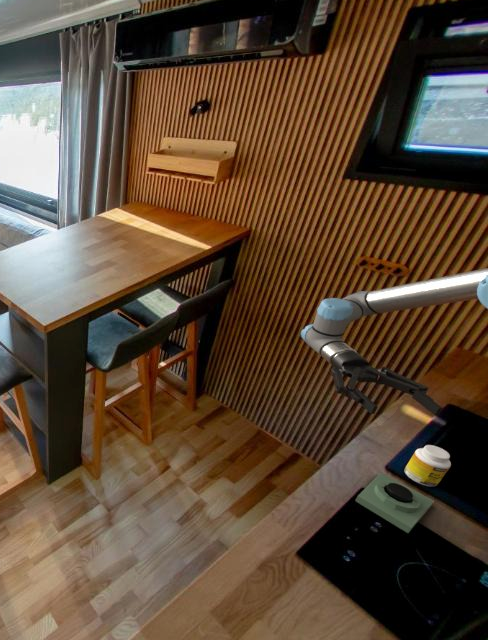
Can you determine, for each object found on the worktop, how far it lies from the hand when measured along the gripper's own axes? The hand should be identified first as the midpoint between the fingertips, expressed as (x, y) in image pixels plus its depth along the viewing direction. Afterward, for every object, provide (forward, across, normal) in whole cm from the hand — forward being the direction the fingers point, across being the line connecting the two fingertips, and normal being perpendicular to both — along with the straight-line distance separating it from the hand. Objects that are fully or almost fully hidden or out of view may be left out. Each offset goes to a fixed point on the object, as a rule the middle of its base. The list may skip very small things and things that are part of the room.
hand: (406, 411), depth 96 cm
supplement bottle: (+10, 0, -14) cm, 17 cm away
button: (+18, +11, -10) cm, 23 cm away
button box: (+18, +11, -14) cm, 25 cm away
